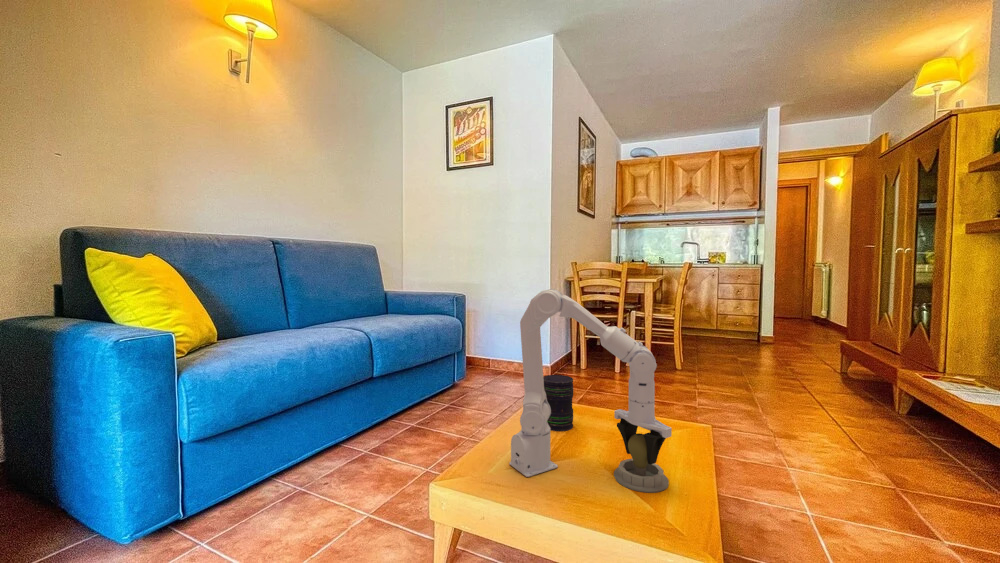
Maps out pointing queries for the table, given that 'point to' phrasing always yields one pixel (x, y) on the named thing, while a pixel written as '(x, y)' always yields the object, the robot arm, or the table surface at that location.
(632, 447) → the light bulb
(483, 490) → the table surface
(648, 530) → the table surface
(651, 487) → the bulb holder
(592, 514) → the table surface
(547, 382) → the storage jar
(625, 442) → the robot arm
